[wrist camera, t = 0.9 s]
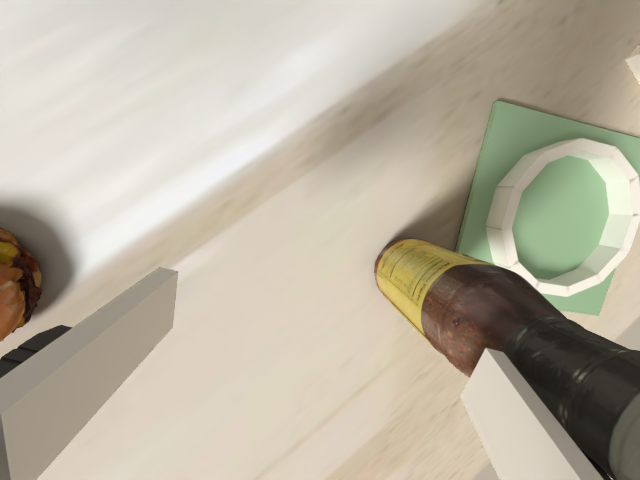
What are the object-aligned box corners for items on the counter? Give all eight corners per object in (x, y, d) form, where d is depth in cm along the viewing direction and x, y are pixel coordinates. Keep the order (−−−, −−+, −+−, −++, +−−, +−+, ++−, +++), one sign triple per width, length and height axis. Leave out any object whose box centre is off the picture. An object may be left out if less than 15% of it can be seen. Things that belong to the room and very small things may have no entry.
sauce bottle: (442, 278, 29) (781, 473, 9) (386, 310, 28) (616, 576, 9) (416, 220, 27) (756, 308, 8) (357, 253, 27) (558, 425, 8)
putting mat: (493, 102, 26) (516, 93, 24) (652, 144, 29) (687, 140, 27) (443, 292, 29) (459, 303, 26) (592, 313, 32) (619, 324, 29)
